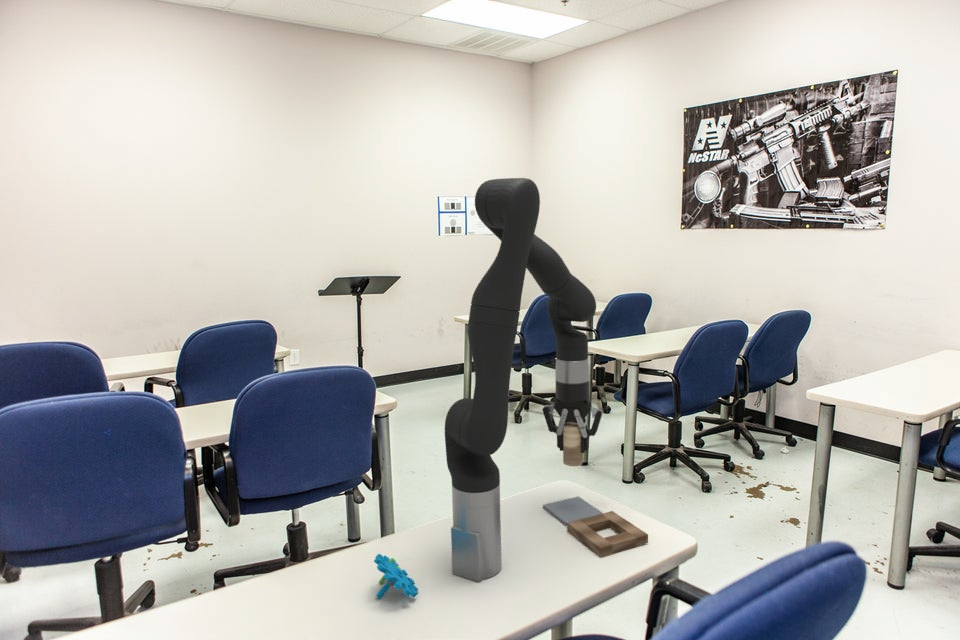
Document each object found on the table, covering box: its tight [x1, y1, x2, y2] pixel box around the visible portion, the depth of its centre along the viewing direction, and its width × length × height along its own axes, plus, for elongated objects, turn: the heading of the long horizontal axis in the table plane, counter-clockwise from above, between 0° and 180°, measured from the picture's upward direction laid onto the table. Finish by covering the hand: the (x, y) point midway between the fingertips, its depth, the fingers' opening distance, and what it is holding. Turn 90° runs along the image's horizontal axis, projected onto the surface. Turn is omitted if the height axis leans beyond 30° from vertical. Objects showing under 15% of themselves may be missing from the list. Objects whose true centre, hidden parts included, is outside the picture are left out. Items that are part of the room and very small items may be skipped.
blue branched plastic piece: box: [373, 553, 419, 600], centre depth 109 cm, size 11×6×10 cm
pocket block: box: [566, 510, 649, 558], centre depth 127 cm, size 12×12×2 cm
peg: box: [562, 422, 584, 467], centre depth 137 cm, size 4×4×9 cm
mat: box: [542, 495, 604, 527], centre depth 139 cm, size 10×10×1 cm
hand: (573, 450), depth 137 cm, fingers closed on peg, 4 cm apart
